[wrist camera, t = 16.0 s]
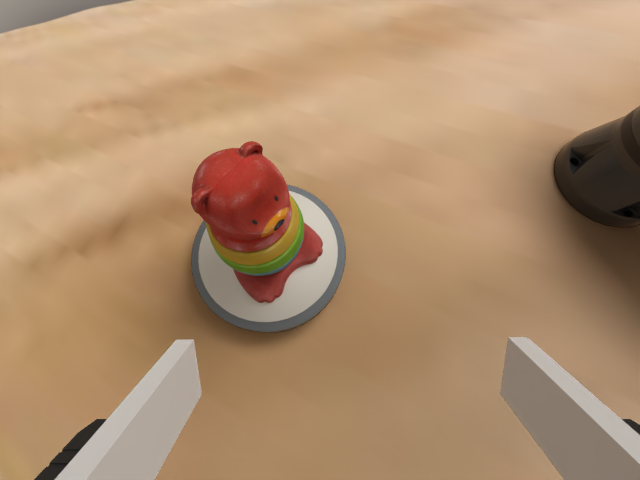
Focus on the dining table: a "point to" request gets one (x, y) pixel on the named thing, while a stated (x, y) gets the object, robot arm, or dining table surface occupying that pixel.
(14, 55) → the dining table surface
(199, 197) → the stacking bear
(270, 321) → the pedestal
